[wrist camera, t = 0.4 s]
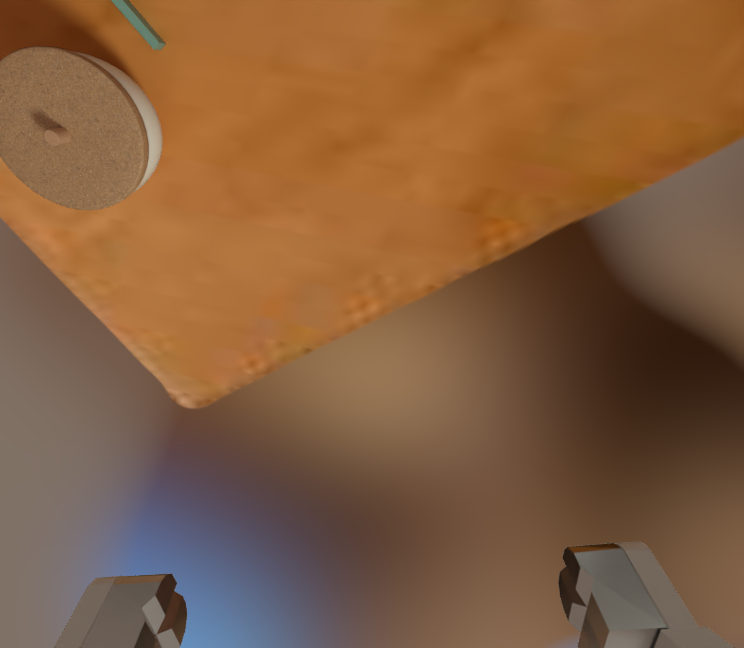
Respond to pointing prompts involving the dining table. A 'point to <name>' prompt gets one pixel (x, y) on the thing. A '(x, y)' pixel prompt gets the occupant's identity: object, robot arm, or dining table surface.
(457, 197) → the dining table surface
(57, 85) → the lidded bowl
